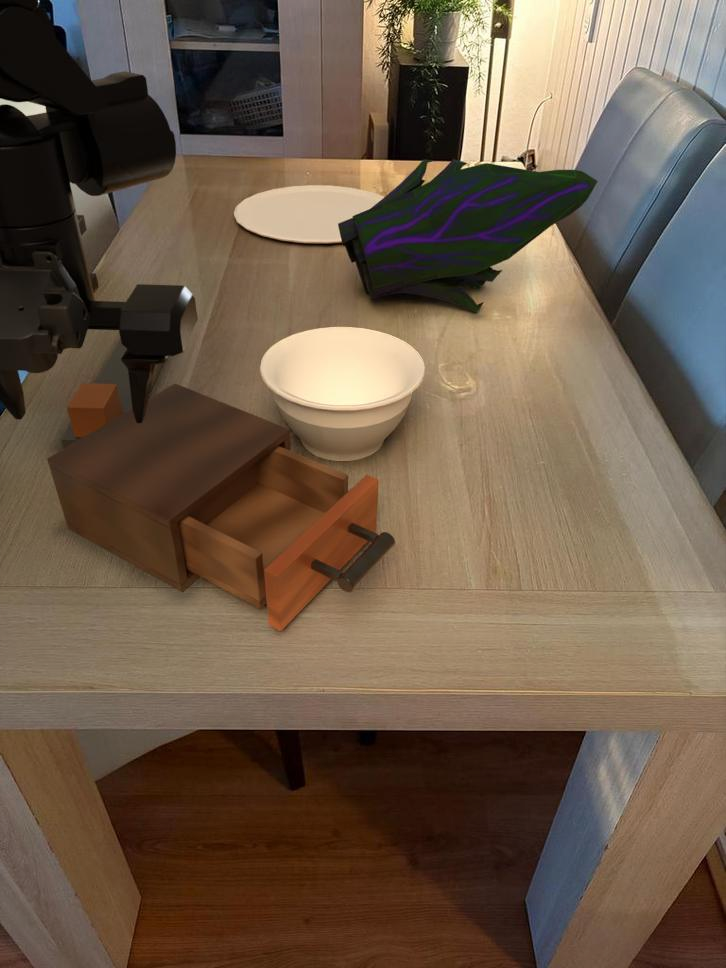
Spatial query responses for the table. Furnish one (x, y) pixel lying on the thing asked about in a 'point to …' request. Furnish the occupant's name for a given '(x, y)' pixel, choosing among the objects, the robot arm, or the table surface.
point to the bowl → (342, 387)
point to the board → (113, 375)
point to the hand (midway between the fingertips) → (80, 418)
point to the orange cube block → (93, 407)
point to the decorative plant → (456, 227)
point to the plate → (303, 212)
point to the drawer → (285, 533)
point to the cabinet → (157, 475)
